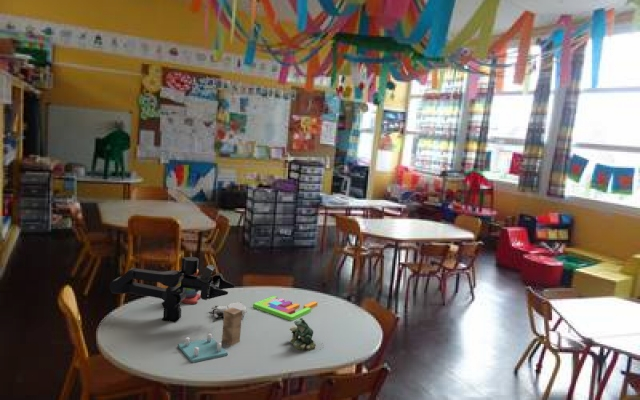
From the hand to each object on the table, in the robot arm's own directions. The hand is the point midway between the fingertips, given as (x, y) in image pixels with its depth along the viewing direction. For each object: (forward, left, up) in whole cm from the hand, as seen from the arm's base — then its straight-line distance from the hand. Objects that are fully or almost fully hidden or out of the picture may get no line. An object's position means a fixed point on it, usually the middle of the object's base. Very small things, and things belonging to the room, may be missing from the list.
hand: (231, 289), depth 213 cm
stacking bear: (-26, +25, -17) cm, 40 cm away
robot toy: (-3, +13, -17) cm, 22 cm away
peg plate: (-3, -24, -17) cm, 30 cm away
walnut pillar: (+5, -13, -17) cm, 22 cm away
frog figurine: (+33, -7, -17) cm, 37 cm away
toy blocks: (+21, +32, -17) cm, 42 cm away
